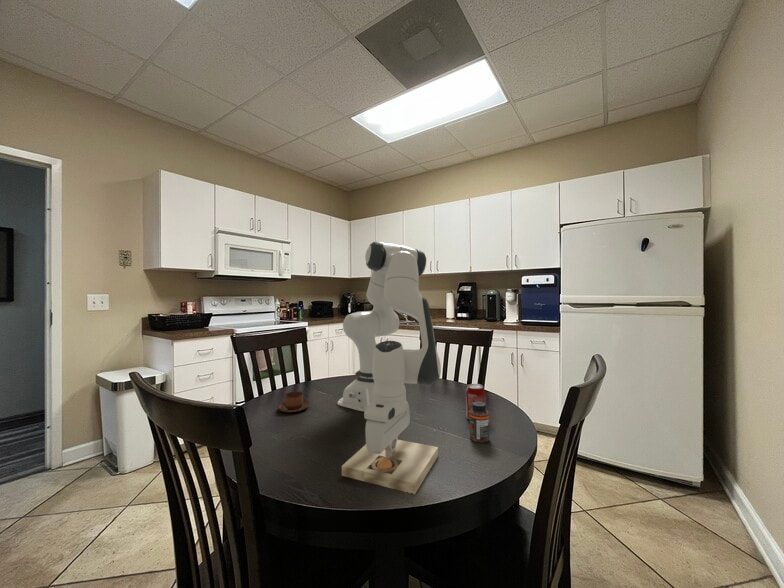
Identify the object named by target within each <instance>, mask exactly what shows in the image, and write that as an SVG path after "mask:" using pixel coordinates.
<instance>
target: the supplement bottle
mask: <svg viewBox="0 0 784 588" xmlns="http://www.w3.org/2000/svg"><path fill="white" fill-rule="evenodd" d="M486 405H487V404H486V402H485V403H483V402H473V406H472V407H473V408H472V409H471V410H470V419H469V438H470V440H471V441H473V442H476V443H480V444H481V443H488V442H489V440H490V412H489V411H488V409H486V408H487V406H486Z"/></svg>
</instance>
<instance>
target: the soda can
mask: <svg viewBox="0 0 784 588" xmlns="http://www.w3.org/2000/svg"><path fill="white" fill-rule="evenodd" d="M473 402H483V403H485V404H486V390H485V389H484V385H482V384H480V383H470V384H468V385H467V387H466V389H465V403H466V404H465V406H466V407H465V408H466V409H465V410H466V411H465V412H466V415H465V416H466V418H467V419H468V420H470V410H471V409H472V408H473V407H472V406H473Z"/></svg>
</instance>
